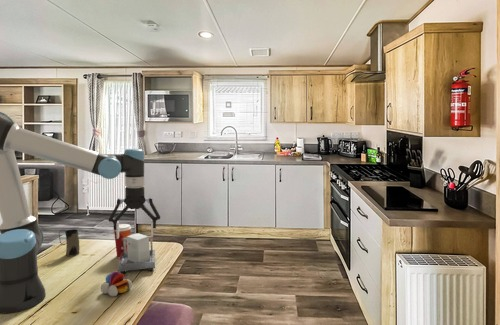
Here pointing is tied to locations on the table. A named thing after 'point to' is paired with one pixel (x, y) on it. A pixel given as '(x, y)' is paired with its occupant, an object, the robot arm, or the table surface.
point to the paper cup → (123, 233)
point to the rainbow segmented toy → (115, 284)
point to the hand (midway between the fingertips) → (135, 236)
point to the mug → (71, 242)
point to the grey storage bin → (129, 265)
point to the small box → (138, 248)
